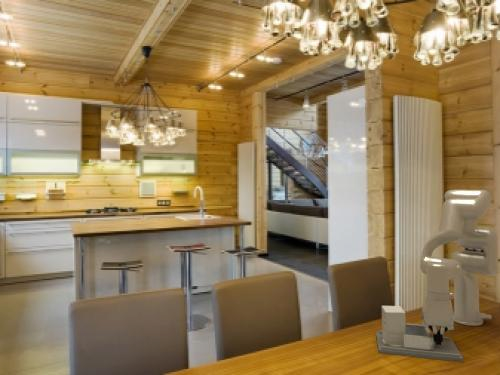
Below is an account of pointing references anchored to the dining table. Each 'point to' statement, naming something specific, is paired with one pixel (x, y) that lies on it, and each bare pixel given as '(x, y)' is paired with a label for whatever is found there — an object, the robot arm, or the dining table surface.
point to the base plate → (440, 351)
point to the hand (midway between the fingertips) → (437, 343)
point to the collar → (418, 338)
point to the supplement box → (393, 325)
